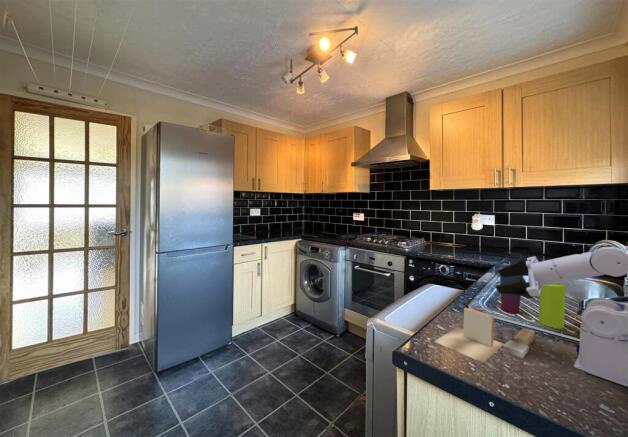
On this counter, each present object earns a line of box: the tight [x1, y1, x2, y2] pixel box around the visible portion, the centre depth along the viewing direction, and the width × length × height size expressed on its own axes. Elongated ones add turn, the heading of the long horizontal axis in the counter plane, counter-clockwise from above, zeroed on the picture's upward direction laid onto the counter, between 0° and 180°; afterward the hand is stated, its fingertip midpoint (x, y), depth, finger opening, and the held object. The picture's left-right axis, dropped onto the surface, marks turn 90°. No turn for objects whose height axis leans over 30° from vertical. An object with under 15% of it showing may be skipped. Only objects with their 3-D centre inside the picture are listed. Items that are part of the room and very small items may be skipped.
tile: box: [462, 307, 495, 347], centre depth 70 cm, size 7×1×8 cm, turn 37°
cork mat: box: [433, 326, 505, 364], centre depth 69 cm, size 12×14×1 cm
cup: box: [499, 267, 524, 315], centre depth 92 cm, size 7×7×15 cm
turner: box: [502, 327, 536, 359], centre depth 68 cm, size 4×14×3 cm, turn 127°
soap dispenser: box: [538, 283, 567, 330], centre depth 80 cm, size 6×7×20 cm
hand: (498, 281), depth 73 cm, fingers open, 7 cm apart
